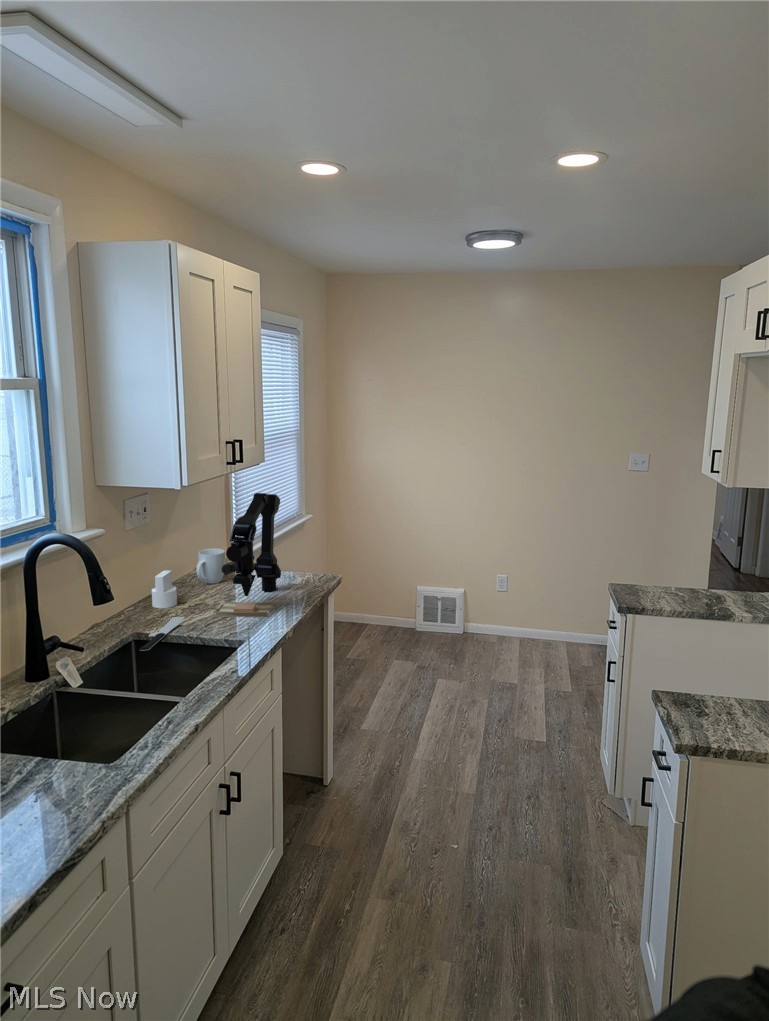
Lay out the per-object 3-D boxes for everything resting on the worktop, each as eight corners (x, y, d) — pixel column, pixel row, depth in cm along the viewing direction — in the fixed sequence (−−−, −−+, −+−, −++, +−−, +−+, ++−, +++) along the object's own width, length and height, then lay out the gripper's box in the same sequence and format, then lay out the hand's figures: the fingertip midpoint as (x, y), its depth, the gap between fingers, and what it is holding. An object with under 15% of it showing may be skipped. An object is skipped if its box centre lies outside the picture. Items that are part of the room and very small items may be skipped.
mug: (209, 589, 278) (208, 558, 275) (187, 585, 282) (186, 555, 279) (231, 579, 291) (230, 550, 289) (210, 576, 295) (209, 547, 293)
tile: (237, 602, 253) (233, 608, 246) (256, 602, 253) (253, 608, 246) (237, 606, 253) (233, 613, 246) (256, 606, 253) (253, 613, 246)
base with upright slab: (172, 608, 254) (170, 577, 251) (148, 607, 254) (146, 576, 252) (180, 600, 262) (179, 570, 260) (157, 600, 263) (156, 570, 261)
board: (225, 604, 258) (225, 598, 258) (273, 604, 259) (273, 598, 258) (216, 619, 243) (216, 612, 242) (267, 619, 243) (266, 612, 242)
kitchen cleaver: (165, 615, 244) (192, 613, 243) (166, 620, 245) (192, 618, 243) (121, 649, 214) (151, 647, 212) (122, 654, 214) (152, 652, 213)
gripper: (228, 548, 258) (229, 588, 261) (217, 561, 240) (219, 604, 243) (257, 548, 258) (259, 588, 261) (249, 561, 240) (250, 604, 243)
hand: (246, 595), depth 252 cm, fingers closed
